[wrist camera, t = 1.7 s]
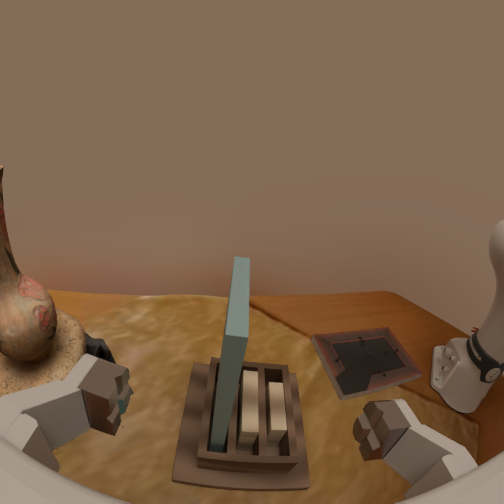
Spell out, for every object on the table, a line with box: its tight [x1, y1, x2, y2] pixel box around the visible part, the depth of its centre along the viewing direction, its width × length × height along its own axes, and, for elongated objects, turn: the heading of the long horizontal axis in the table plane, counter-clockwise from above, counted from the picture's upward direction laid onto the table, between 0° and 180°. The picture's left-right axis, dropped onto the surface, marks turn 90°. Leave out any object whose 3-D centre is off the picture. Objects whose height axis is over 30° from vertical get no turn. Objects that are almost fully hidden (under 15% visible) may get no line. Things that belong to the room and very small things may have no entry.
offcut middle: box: [236, 370, 259, 452], centre depth 33 cm, size 10×2×7 cm, turn 0°
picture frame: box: [311, 327, 422, 400], centre depth 51 cm, size 16×2×22 cm
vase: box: [0, 166, 133, 428], centre depth 25 cm, size 24×22×35 cm
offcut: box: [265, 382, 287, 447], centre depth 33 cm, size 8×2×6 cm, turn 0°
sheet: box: [210, 256, 250, 453], centre depth 29 cm, size 12×2×24 cm, turn 0°
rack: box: [172, 357, 310, 491], centre depth 34 cm, size 22×18×6 cm
